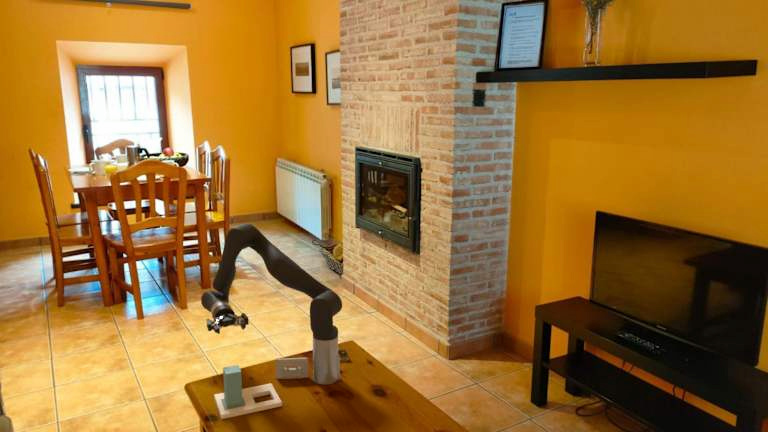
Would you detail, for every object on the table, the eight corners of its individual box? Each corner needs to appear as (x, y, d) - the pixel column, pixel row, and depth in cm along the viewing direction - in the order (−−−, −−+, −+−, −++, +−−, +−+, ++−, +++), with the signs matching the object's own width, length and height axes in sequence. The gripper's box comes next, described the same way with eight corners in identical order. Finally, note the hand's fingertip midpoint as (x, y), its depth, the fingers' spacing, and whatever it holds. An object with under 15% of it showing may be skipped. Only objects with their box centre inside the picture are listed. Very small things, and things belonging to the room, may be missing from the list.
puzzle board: (271, 387, 208) (271, 382, 208) (281, 406, 196) (281, 401, 195) (214, 398, 200) (214, 394, 199) (221, 419, 187) (221, 414, 187)
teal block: (239, 397, 198) (238, 364, 195) (242, 404, 193) (241, 371, 191) (224, 400, 196) (223, 367, 193) (227, 407, 191) (225, 374, 189)
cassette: (275, 379, 214) (275, 360, 212) (276, 377, 216) (275, 358, 214) (308, 378, 215) (308, 359, 214) (308, 375, 217) (308, 356, 216)
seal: (310, 362, 231) (346, 367, 227) (309, 352, 229) (345, 356, 225) (318, 350, 239) (353, 354, 236) (317, 340, 238) (352, 344, 234)
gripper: (202, 307, 212) (209, 322, 198) (241, 301, 218) (251, 315, 204) (203, 326, 213) (211, 342, 199) (242, 319, 219) (252, 335, 205)
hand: (231, 329), depth 201 cm, fingers open, 8 cm apart
